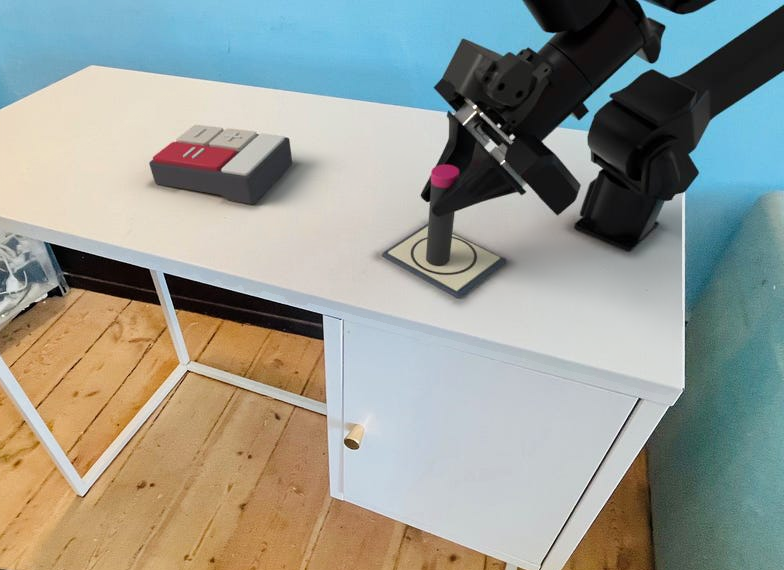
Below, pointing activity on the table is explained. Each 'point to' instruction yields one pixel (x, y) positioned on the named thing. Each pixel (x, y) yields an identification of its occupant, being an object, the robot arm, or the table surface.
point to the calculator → (223, 162)
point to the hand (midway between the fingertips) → (428, 206)
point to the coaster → (453, 277)
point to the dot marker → (443, 225)
